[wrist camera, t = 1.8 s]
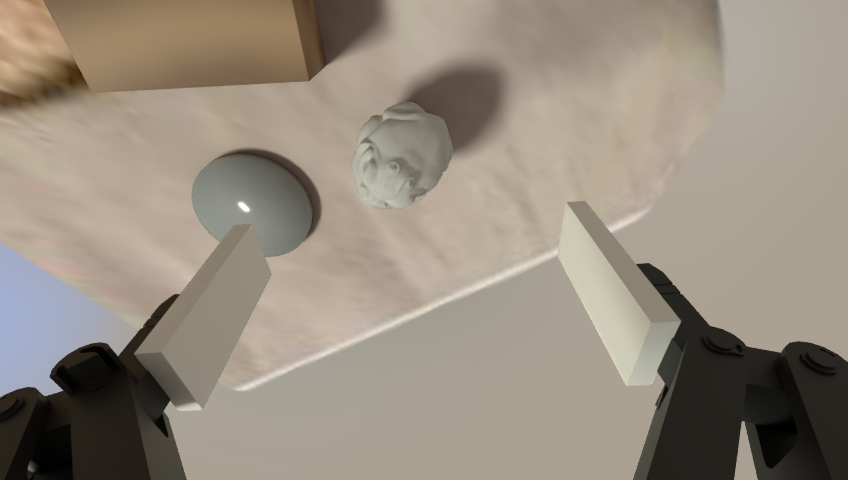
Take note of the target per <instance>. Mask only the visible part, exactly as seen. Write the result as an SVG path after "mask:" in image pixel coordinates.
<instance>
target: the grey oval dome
mask: <svg viewBox="0 0 848 480" xmlns="http://www.w3.org/2000/svg"><path fill="white" fill-rule="evenodd" d="M192 203H193V207H194V210H195V213H196V215H197V217H198V219H199V221H200V222H201V224H202V225H203V226H204V228H205V229H206V230H207V231H208V232H209V233H210V234H211V235H212V236H213V237H214V238H215V239H217V240H218V241H219V242H221V241H222V240H223V238H224V237H225V236H226V235H227V233H228V232H229V231H230V229H231V228H232V227H233V226H234V225H241V224H252V225H253V228H254V230H255V233H256V236H257V238H258V241H259V243H260V246H261V248H262V251H263V253H264V256H265V257H273V256H279V255H283V254H286V253H288V252H290V251H292V250H294V249H295V248H297V247H298V246H299V245H300V244H301V243H302V242H303V241H304V239H305V238H306V236H307V234H308V232H309V230H310V227H311V224H312V220H313V208H312V203H311V200H310V197H309V195H308V193H307V191H306V189H305V188H304V186H303V185H302V183H301V182H300V181H299V180H298V179H297V178H296V177H295V176H294V175H293V174H292V173H291V172H290V171H289V170H287V169H286V168H285V167H283V166H281V165H280V164H278V163H276V162H274V161H272V160H270V159H268V158H265V157H262V156H258V155H253V154H245V153H238V154H229V155H226V156H222V157H220V158H218V159H215V160H214V161H212V162H211V163H210V164H208V165H207V166H206V167H205V168H204V169H203V170H202V171H201V172H200V173H199V174H198V176H197V177H196V179H195V181H194V184H193V188H192Z"/></svg>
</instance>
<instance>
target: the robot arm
mask: <svg viewBox="0 0 848 480" xmlns="http://www.w3.org/2000/svg"><path fill="white" fill-rule="evenodd" d="M558 258H559V260H560V262H561V263H562V265H563V267H564V269H565V271H566V273H567V275H568V276H569V279H570V280H571V282H572V284H573V286H574V288H575V290H576V292H577V293H578V295H579V297H580V299H581V301H582V303H583V305H584V307H585V309H586V311H587V312H588V314H589V316H590V318H591V320H592V322H593V324H594V326H595V328H596V330H597V331H598V333H599V335H600V337H601V339H602V341H603V343H604V345H605V347H606V348H607V350H608V352H609V354H610V356H611V358H612V360H613V362H614V364H615V366H616V367H617V369H618V371H619V373H620V375H621V377H622V379H623V380H624V383H625V384H626V386H637V385H638V386H639V385H652V384H653V381H654V379H655V377H656V375H657V373H659V375H660V376H661V378H662V379H663V381H664V383H665V386H664V388H663V389H662V392H661V394H660V396H659V398H658V400H657V402H656V404H655V405H656V406H657V408H656V411H655V414H654V417H653V420H652V423H651V426H650V429H649V432H648V435H647V438H646V441H645V444H644V447H643V451H642V454H641V457H640V460H639V463H638V466H637V469H636V472H635V475H634V478H633V480H734V476H735V468H736V460H737V453H738V445H739V437H740V430H741V422H742V421H745V426H746V430H747V434H748V439H749V443H750V448H751V452H752V456H753V461H754V465H755V469H756V474H757V478H758V480H848V362H847V361H845V360H844V359H843V358H842V357H840V356H839V355H838V354H836V353H834V352H832V351H830V350H828V349H826V348H824V347H821V346H819V345H815V344H812V343H808V342H800V341H798V342H792V343H789V344H788V345H787V346H786V347H785V348H784V349H783V351H782V352H781V353H779V352H773V351H768V350H762V349H757V348H751V347H747V346H746V345H745V344H744V343H743V342H742V341H741V340H740V339H739V338H737V337H736V336H735V335H733V334H731V333H729V332H727V331H725V330H723V329H719V328H716V327H712V326H709V324H708V323H707V322H706V321H705V320H704V319H703V317H702V316H701V315H700V314H699V313H698V312H697V311H696V309H695V308H694V307H693V306H692V305H691V304H690V303H689V301H688V300H687V299H686V298H685V297H684V296H683V295H682V294H680V291H679V290H678V289H677V288H676V287H675V285H673V284H672V282H671V281H670V280H669V279H668V277H667V276H666V275H665V274H664V273H663V272H662V271H660V270H659V269H657V268H656V267H654V266H652V265H651V264H649V263H644V264H635V263H634V261H633V260H632V259H631V258H630V256H629V255H628V254H627V253H626V251H625V250H624V249H623V248H622V246H621V245H620V244H619V243H618V241H617V240H616V239H615V238H614V236H613V235H612V234H611V233H610V231H609V230H608V229H607V228H606V226H605V225H604V224H603V223H602V221H601V220H600V219H599V217H598V216H597V215H596V214H595V212H594V211H593V210H592V209H591V207H590V206H589V205H588V204H587V202H586V201H577V202H566V208H565V214H564V220H563V226H562V232H561V238H560V244H559V250H558ZM271 275H272V274H271V271H270V269H269V266H268V264H267V261H266V259H265V256H264V253H263V251H262V248H261V246H260V243H259V241H258V238H257V236H256V233H255V230H254V228H253V225H252V224H241V225H234V226H233V227H232V228H231V229H230V231H229V232H228V233H227V235H226V236H225V237H224V238H223V240H222V241H221V242H220V244H219V245H218V246H217V247H216V249H215V250H214V251H213V253H212V254H211V255H210V256H209V258H208V259H207V260H206V262H205V263H204V264H203V265H202V267H201V268H200V269H199V271H198V272H197V273H196V274H195V276H194V277H193V278H192V280H191V281H190V282H189V283H188V285H187V286H186V287H185V289H184V290H183V291H182V293H181V294H174V295H173V296H171V297H170V298H169V299H167V300H166V301H165V302H163V303H162V304H161V305H160V306H159V307H158V308H157V309H156V311H155V312H154V313H153V314H152V315H151V319H148V320H147V322H146V323H145V324H144V325H143V328H142V329H140V330H139V331H138V333H137V334H136V335H135V336H134V338H133V339H132V340H131V341H130V342H129V344H128V345H127V346H126V347H125V349H124V350H123V351H122V352H121V353H120V355H119V356H117V355H116V354H115V352H114V351H113V350H112V349H111V348H110V346H109V345H108V344H106V343H101V342H100V343H93V344H89V345H86V346H83V347H81V348H78V349H77V350H75V351H73V352H71V353H69V354H68V355H67V356H65V357H64V358H63V359H62V360H60V361H59V362H58V363H57V364H56V366H55V367H54V368H53V369H52V371H51V374H50V378H51V379H52V380H53V381H54V382H55V383H56V384H58V386H59V387H60V388H62V389H63V390H64V391H61V392H58V393H55V394H52V395H48V396H44V395H42V394H41V393H40V392H39V391H38V390H37V389H36V388H31V387H26V388H22V389H18V390H15V391H13V392H10V393H9V394H6V395H4V396H2V397H0V480H187V479H186V476H185V473H184V469H183V466H182V462H181V459H180V456H179V452H178V449H177V446H176V442H175V439H174V436H173V433H172V429H171V425H170V422H169V419H168V417H167V415H166V414H165V413H164V412H163V411H164V409H165V408H166V406H167V404H168V403H169V401H171V402H172V403H173V404H174V406H175V407H176V408H177V410H178V411H190V410H203V408H204V406H205V404H206V402H207V400H208V398H209V396H210V394H211V392H212V391H213V389H214V387H215V385H216V383H217V381H218V379H219V377H220V375H221V373H222V371H223V369H224V367H225V365H226V363H227V361H228V359H229V357H230V355H231V353H232V351H233V349H234V347H235V345H236V343H237V341H238V340H239V338H240V336H241V334H242V332H243V330H244V328H245V326H246V324H247V322H248V320H249V318H250V316H251V314H252V312H253V310H254V308H255V306H256V304H257V302H258V300H259V298H260V296H261V294H262V292H263V290H264V289H265V287H266V285H267V283H268V281H269V279H270V277H271Z"/></svg>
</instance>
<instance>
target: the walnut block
mask: <svg viewBox="0 0 848 480" xmlns="http://www.w3.org/2000/svg"><path fill="white" fill-rule="evenodd" d="M43 1H44V3H45V5H46V7H47V8H48V10H49V12H50V14H51V16H52V18H53V20H54V22H55V23H56V25H57V27H58V29H59V31H60V33H61V35H62V37H63V39H64V40H65V42H66V44H67V46H68V48H69V50H70V52H71V54H72V55H73V57H74V59H75V61H76V63H77V65H78V67H79V69H80V70H81V72H82V74H83V76H84V78H85V80H86V82H87V84H88V85H89V87H90V89H91V91H92V93H100V92H118V91H136V90H155V89H173V88H191V87H210V86H228V85H246V84H264V83H283V82H301V81H310V80H311V79H312V78H313V77H314V76H315V75H316V74H317V73H319V72H320V71H321V70H322V69H323V68H324V67H325V66H326V63H325V58H324V52H323V47H322V41H321V36H320V30H319V25H318V19H317V14H316V8H315V3H314V0H43Z"/></svg>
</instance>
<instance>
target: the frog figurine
mask: <svg viewBox="0 0 848 480" xmlns="http://www.w3.org/2000/svg"><path fill="white" fill-rule="evenodd" d="M452 154H453V146H452V141H451V138H450V136H449V132H448V129H447V126H446V123H445V121H444V119H443V118H441V117H439V116H436V115H433V114H429V113H426V112H425V111H424V110H423V109H422V108H421V107H420V106H419V105H417V104H415V103H413V102H406V103H403V104H396V105H393V106H390V107H389V108H387V109H386V110H385V111H384V112H383V115H382V116H380V115H375V116H372V117H371V118H370V119H369V120H368V121H367V122H366V123H365V124H364V125H363V127H362V129H361V130H360V132H359V135H358V147H357V150H356V151H355V153H354V155H353V159H352V164H351V171H352V177H353V181H354V186H355V189H356V192H357V194H358V196H359V198H360V199H361V200H362V201H363V202H364V203H365V204H366V205H368V206H370V207H372V208H376V209H389V208H399V209H400V208H404V207H406V206H408V205H410V204H412V203H414V202H417V201H419V200H421V199H422V198H423V197H424V196H425V195H426V193H427V192H429V191H430V190H432V189H433V188H434V187H435V186H436V184H437V183H438V181H439V180H440V178H441V176H442V173H443V172H444V171H446V169H447V168H448V164H449V162H450V160H451V158H452Z"/></svg>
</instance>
